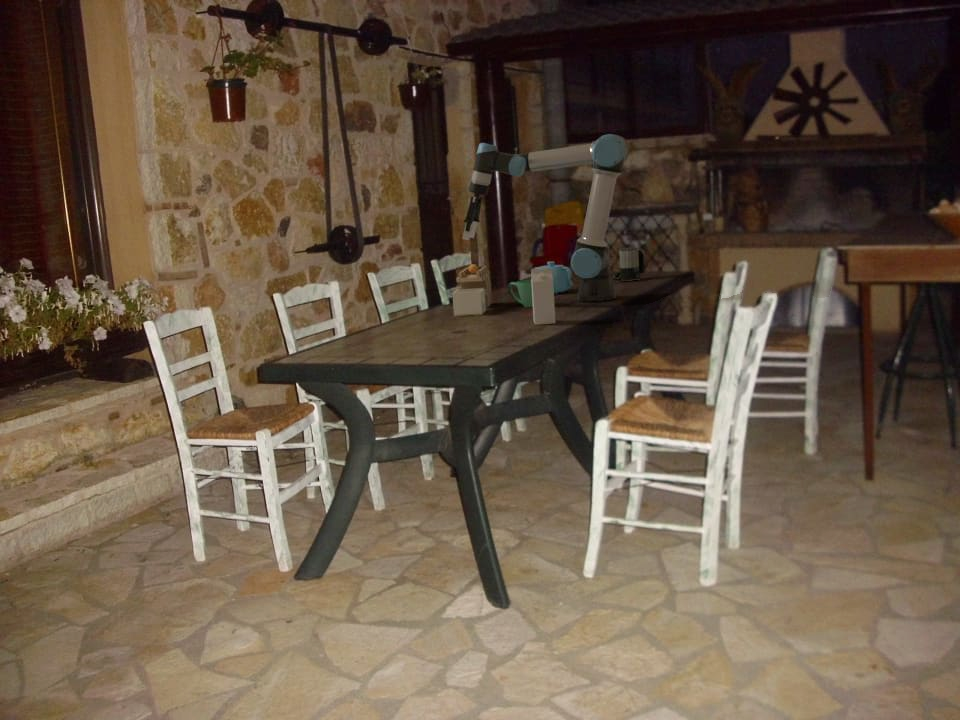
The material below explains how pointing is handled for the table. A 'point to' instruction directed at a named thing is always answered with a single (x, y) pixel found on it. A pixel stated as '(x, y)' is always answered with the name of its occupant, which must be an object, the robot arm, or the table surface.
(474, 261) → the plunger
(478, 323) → the table surface
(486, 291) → the launcher
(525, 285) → the mug
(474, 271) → the ball
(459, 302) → the beige cardboard cube
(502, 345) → the table surface
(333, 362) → the table surface
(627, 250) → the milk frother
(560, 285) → the decorative pot
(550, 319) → the milk carton
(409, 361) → the table surface
